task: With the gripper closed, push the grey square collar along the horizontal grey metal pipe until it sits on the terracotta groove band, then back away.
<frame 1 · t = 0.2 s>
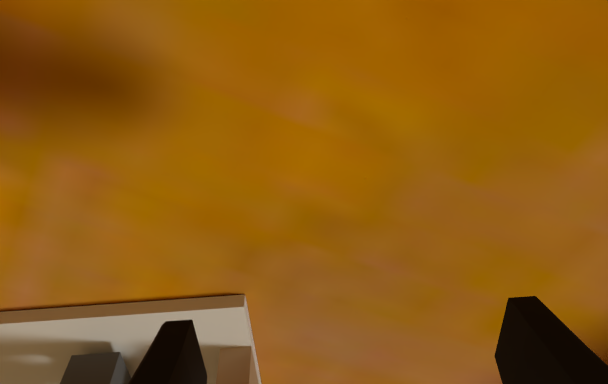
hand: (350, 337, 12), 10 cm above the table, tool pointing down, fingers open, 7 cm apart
pipe rig: (53, 367, 27), on the table
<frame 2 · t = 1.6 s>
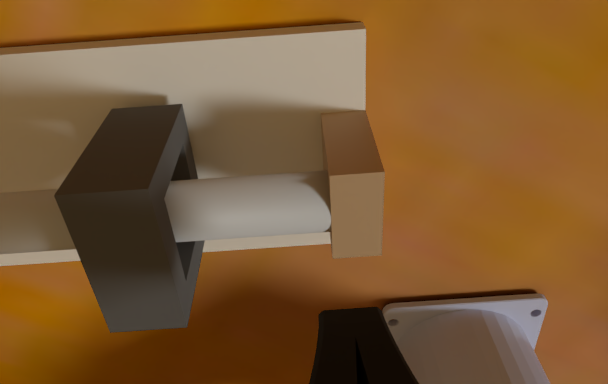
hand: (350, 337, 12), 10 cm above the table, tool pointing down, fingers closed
pipe rig: (81, 158, 20), on the table
grey square collar: (147, 213, 16), point 4 cm above the table, slide at 0.0 cm
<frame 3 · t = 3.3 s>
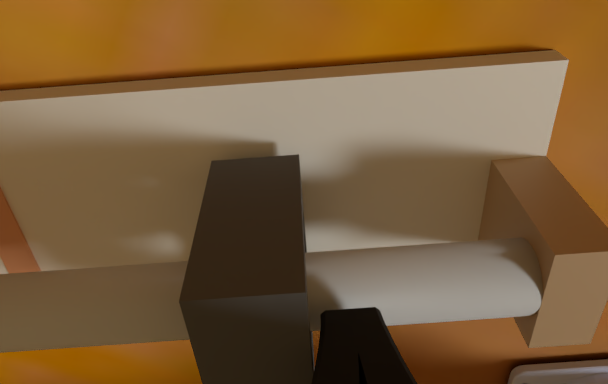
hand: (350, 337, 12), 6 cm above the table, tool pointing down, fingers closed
pipe rig: (187, 210, 16), on the table
grey square collar: (262, 294, 13), point 4 cm above the table, slide at 0.9 cm, touching gripper
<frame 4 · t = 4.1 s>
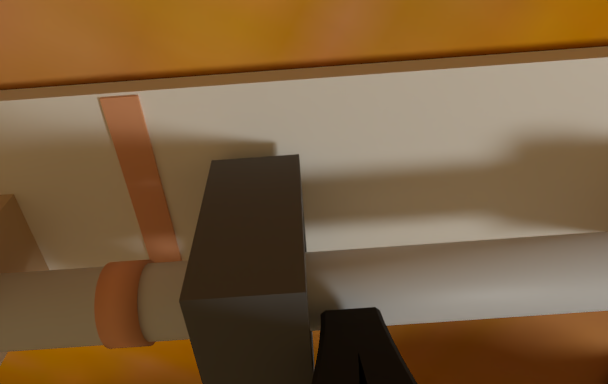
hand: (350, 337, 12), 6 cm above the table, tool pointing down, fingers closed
pipe rig: (330, 200, 16), on the table
grey square collar: (262, 294, 13), point 4 cm above the table, slide at 5.6 cm, touching gripper
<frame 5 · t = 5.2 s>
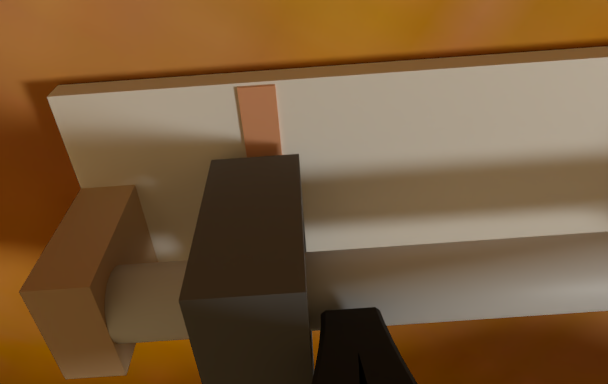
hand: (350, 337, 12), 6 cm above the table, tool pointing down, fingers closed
pipe rig: (441, 192, 16), on the table
grey square collar: (261, 294, 13), point 4 cm above the table, slide at 9.2 cm, touching gripper
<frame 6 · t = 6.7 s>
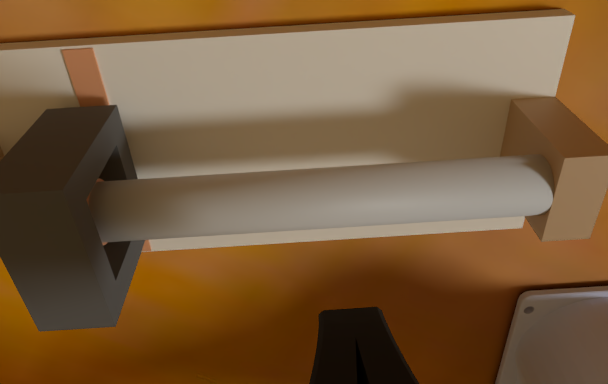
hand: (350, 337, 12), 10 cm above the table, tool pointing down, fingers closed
pipe rig: (258, 143, 20), on the table
grey square collar: (79, 213, 17), point 4 cm above the table, slide at 9.2 cm
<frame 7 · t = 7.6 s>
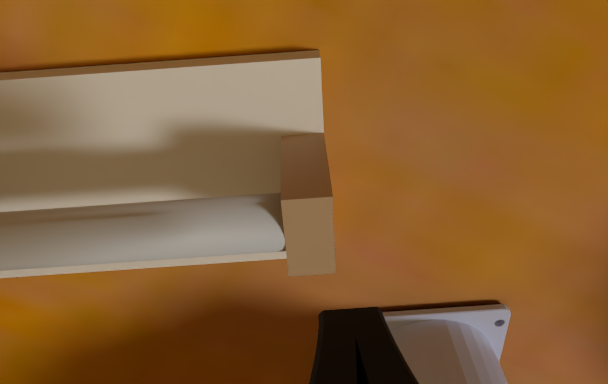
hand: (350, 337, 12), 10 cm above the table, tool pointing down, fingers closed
pipe rig: (54, 177, 21), on the table
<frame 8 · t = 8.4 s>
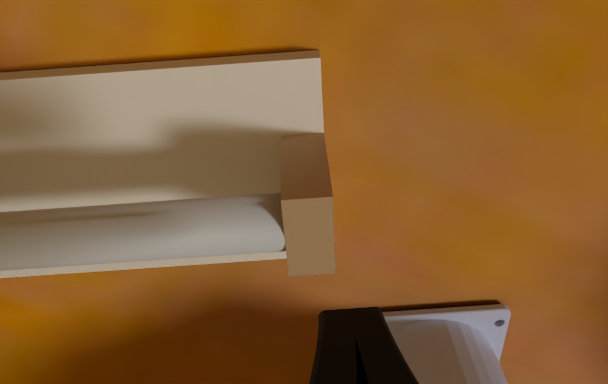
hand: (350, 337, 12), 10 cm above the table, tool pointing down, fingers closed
pipe rig: (54, 177, 21), on the table
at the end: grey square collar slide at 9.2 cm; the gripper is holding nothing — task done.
